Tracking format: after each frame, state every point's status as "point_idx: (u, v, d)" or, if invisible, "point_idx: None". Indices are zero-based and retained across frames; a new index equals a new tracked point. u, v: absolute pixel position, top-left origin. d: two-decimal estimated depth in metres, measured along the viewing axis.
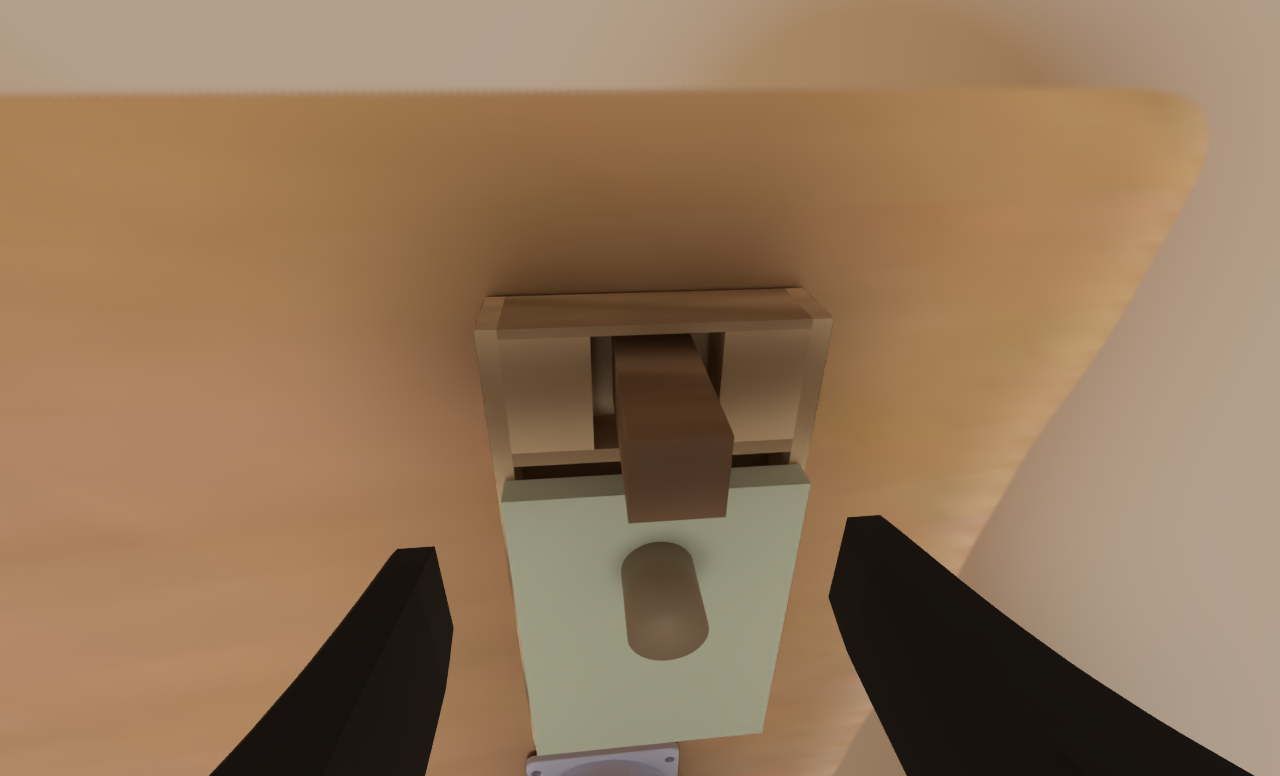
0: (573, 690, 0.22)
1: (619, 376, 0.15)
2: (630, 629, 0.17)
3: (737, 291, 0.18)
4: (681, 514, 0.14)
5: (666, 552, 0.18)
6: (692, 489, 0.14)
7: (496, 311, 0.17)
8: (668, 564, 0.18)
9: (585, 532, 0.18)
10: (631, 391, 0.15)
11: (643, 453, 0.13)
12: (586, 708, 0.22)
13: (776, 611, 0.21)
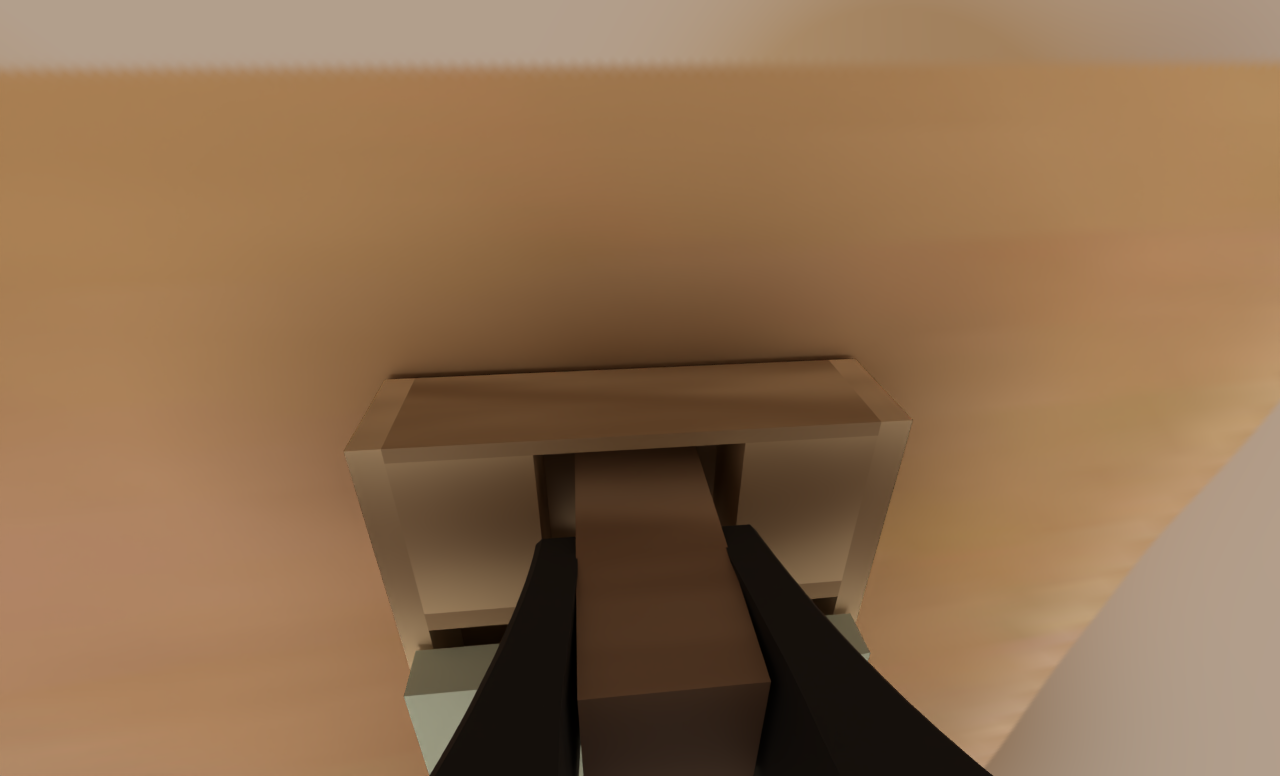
0: None
1: (577, 525, 0.10)
2: None
3: (759, 366, 0.12)
4: None
5: None
6: (695, 754, 0.08)
7: (393, 409, 0.11)
8: None
9: None
10: (593, 560, 0.09)
11: (606, 714, 0.07)
12: None
13: None
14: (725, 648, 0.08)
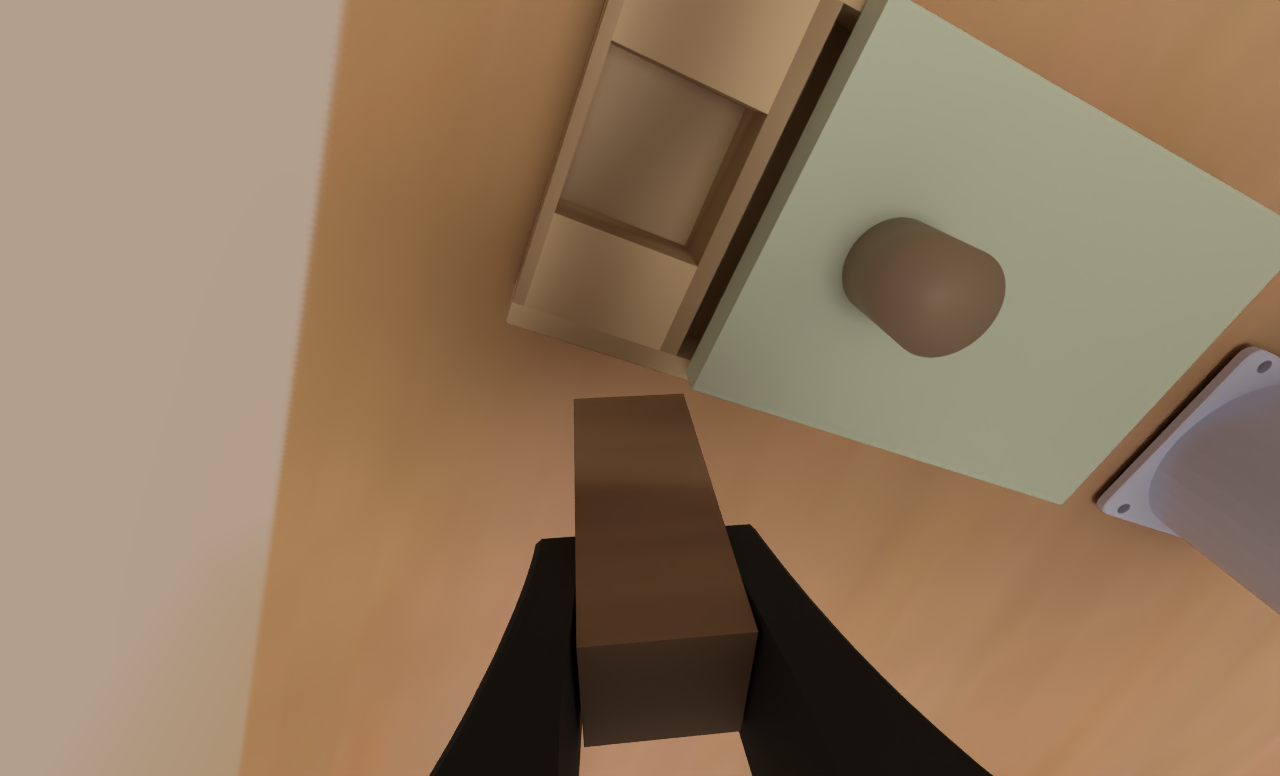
0: (999, 430, 0.17)
1: (576, 490, 0.10)
2: (903, 346, 0.12)
3: None
4: (669, 732, 0.09)
5: (863, 248, 0.13)
6: (687, 701, 0.08)
7: (514, 289, 0.16)
8: (872, 255, 0.13)
9: (781, 326, 0.15)
10: (591, 522, 0.09)
11: (603, 661, 0.08)
12: (1039, 429, 0.17)
13: (1092, 127, 0.13)
14: (716, 602, 0.08)
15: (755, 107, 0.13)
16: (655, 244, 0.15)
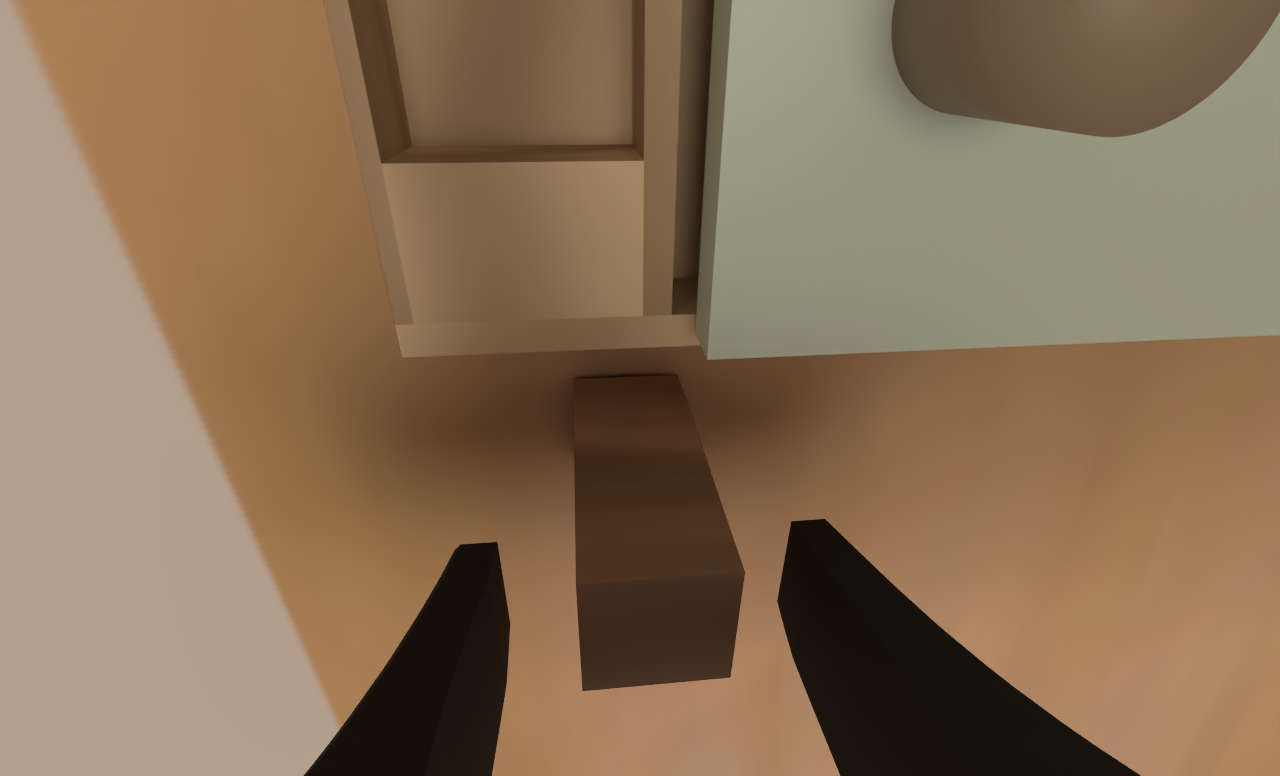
0: None
1: (576, 455, 0.11)
2: (1080, 127, 0.05)
3: None
4: (662, 677, 0.09)
5: None
6: (679, 644, 0.09)
7: None
8: None
9: (816, 200, 0.08)
10: (590, 483, 0.10)
11: (601, 599, 0.08)
12: None
13: None
14: (706, 547, 0.09)
15: None
16: (571, 154, 0.09)
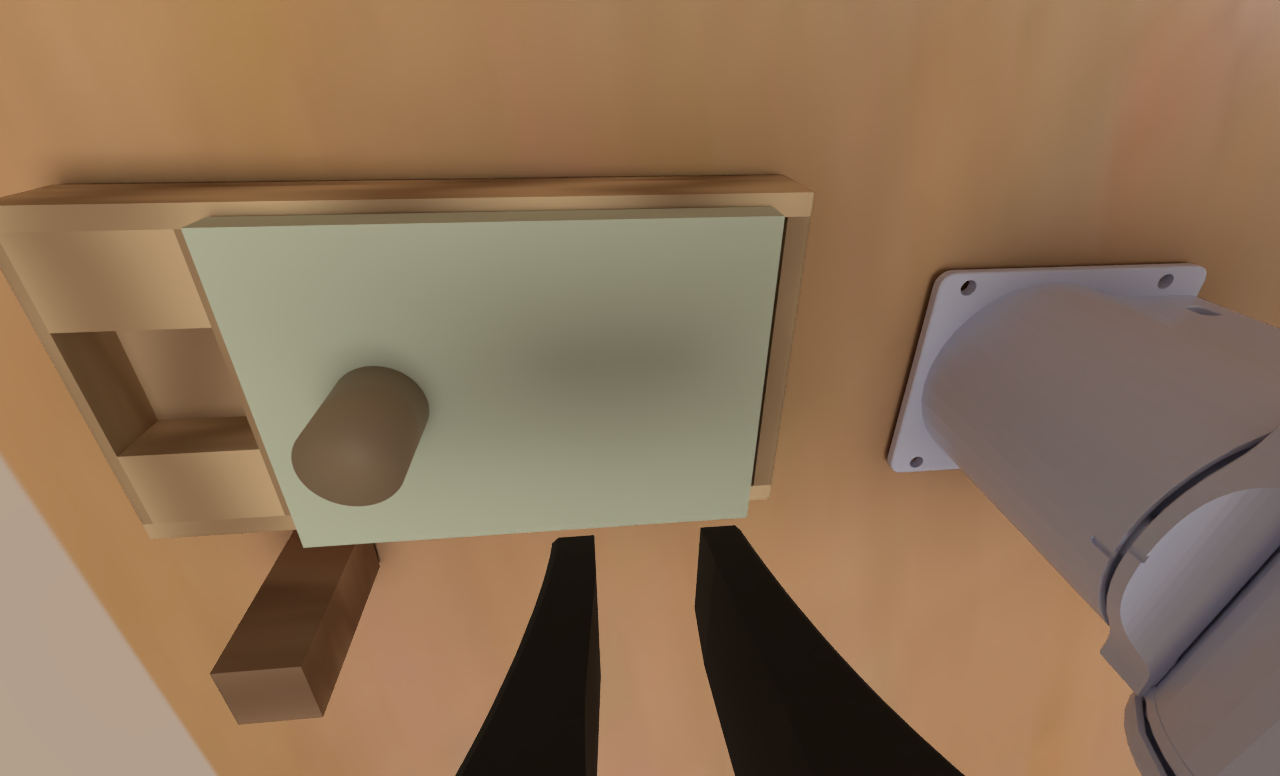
0: (615, 483, 0.17)
1: (261, 587, 0.19)
2: (345, 504, 0.13)
3: None
4: (282, 717, 0.17)
5: None
6: (283, 700, 0.17)
7: None
8: None
9: None
10: (257, 607, 0.18)
11: (227, 680, 0.16)
12: (657, 469, 0.17)
13: (456, 237, 0.13)
14: (290, 651, 0.17)
15: (198, 327, 0.15)
16: (231, 437, 0.17)
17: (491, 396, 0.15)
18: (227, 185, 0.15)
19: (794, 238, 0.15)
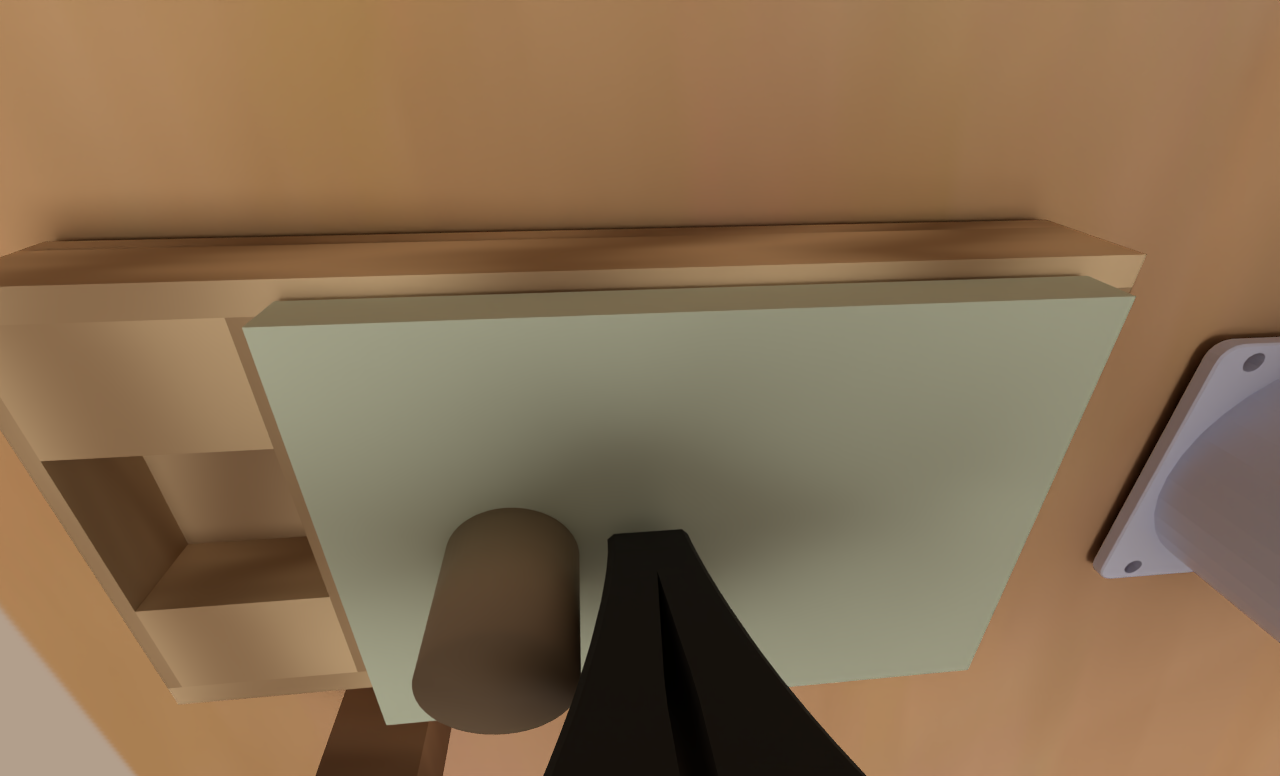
0: (810, 637, 0.13)
1: (323, 758, 0.14)
2: (482, 733, 0.09)
3: None
4: None
5: None
6: None
7: None
8: None
9: None
10: None
11: None
12: (868, 620, 0.13)
13: (657, 333, 0.09)
14: None
15: (255, 448, 0.10)
16: (288, 575, 0.13)
17: None
18: (294, 242, 0.11)
19: None
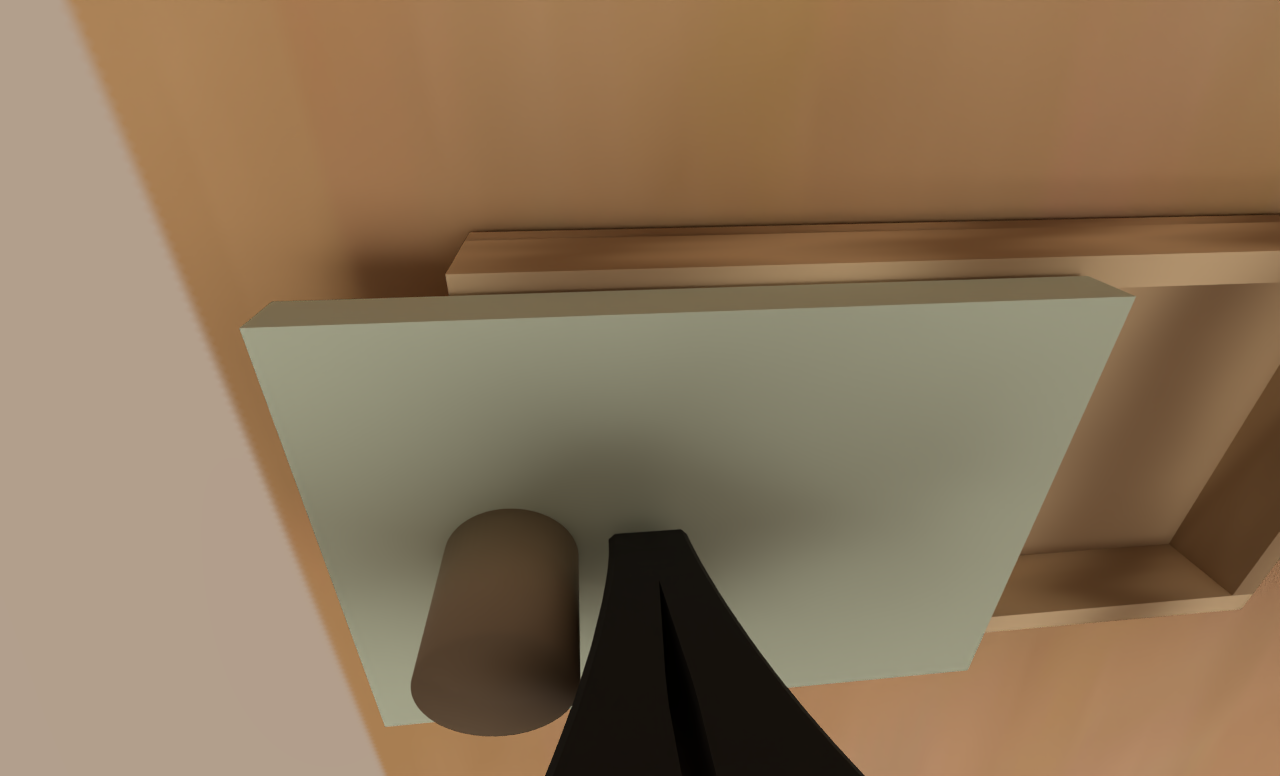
0: (810, 638, 0.13)
1: None
2: (481, 735, 0.09)
3: None
4: None
5: None
6: None
7: None
8: None
9: None
10: None
11: None
12: (868, 621, 0.13)
13: (656, 334, 0.09)
14: None
15: None
16: None
17: None
18: (704, 233, 0.11)
19: None
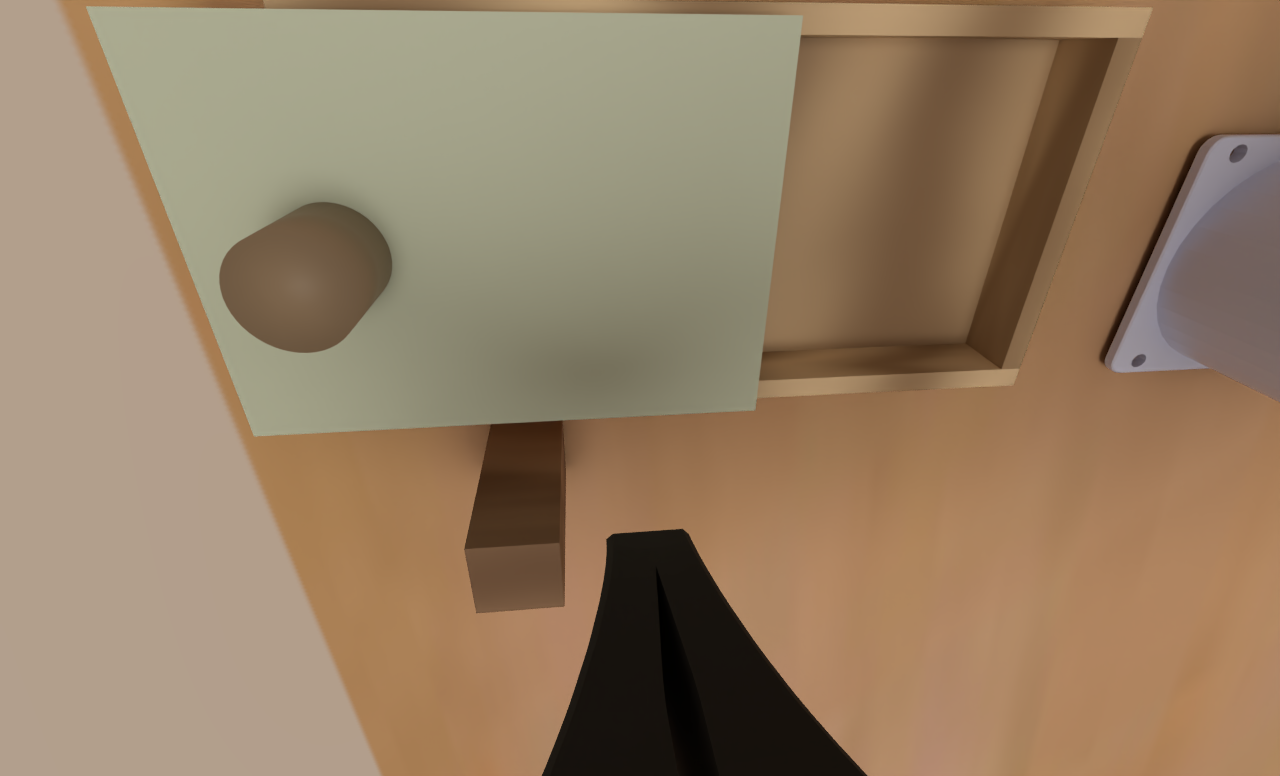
0: (608, 363, 0.15)
1: (481, 475, 0.17)
2: (287, 349, 0.11)
3: None
4: (523, 605, 0.16)
5: None
6: (529, 585, 0.16)
7: None
8: None
9: (282, 350, 0.14)
10: (486, 491, 0.17)
11: (479, 558, 0.15)
12: (654, 346, 0.15)
13: (417, 30, 0.11)
14: (542, 529, 0.15)
15: None
16: None
17: (464, 246, 0.13)
18: None
19: (1118, 65, 0.14)
